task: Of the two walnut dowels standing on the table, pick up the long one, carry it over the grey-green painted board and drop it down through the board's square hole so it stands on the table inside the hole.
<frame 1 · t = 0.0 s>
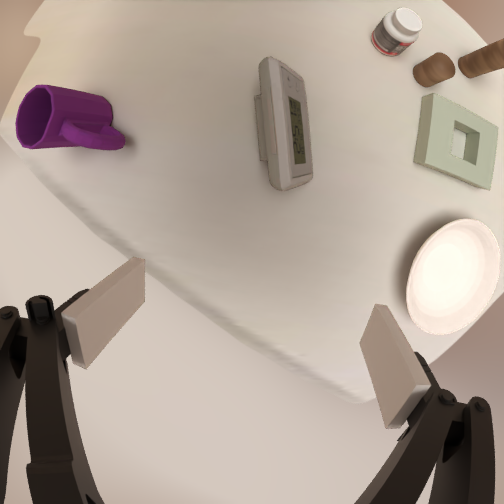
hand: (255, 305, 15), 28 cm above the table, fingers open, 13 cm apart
hole board: (453, 143, 34), on the table
pill bottle: (386, 42, 31), on the table
long dowel: (466, 67, 29), on the table
mug: (105, 127, 40), on the table
digital clock: (288, 129, 38), on the table
short dowel: (423, 75, 32), on the table
bowl: (441, 266, 41), on the table
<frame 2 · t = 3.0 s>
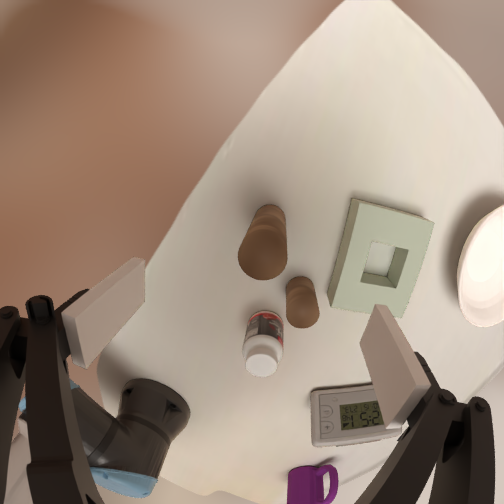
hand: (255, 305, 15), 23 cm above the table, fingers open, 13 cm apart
hole board: (375, 255, 37), on the table
pill bottle: (265, 324, 43), on the table
long dowel: (270, 219, 37), on the table
mug: (313, 467, 55), on the table
digital clock: (351, 393, 46), on the table
short dowel: (300, 289, 40), on the table
bowl: (483, 255, 35), on the table
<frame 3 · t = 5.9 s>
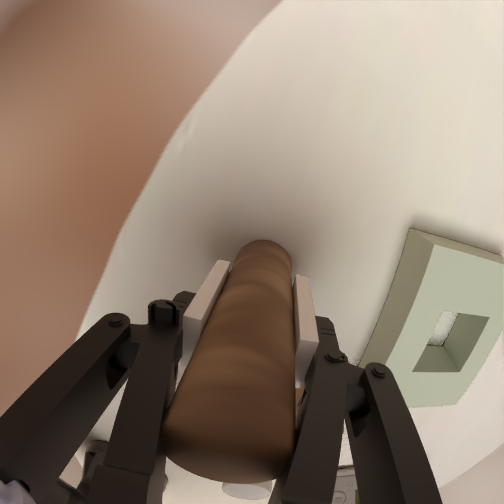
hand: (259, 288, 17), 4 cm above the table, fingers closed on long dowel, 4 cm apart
hole board: (433, 319, 20), on the table
pill bottle: (257, 410, 26), on the table
long dowel: (263, 266, 21), on the table, touching gripper
digital clock: (370, 468, 29), on the table
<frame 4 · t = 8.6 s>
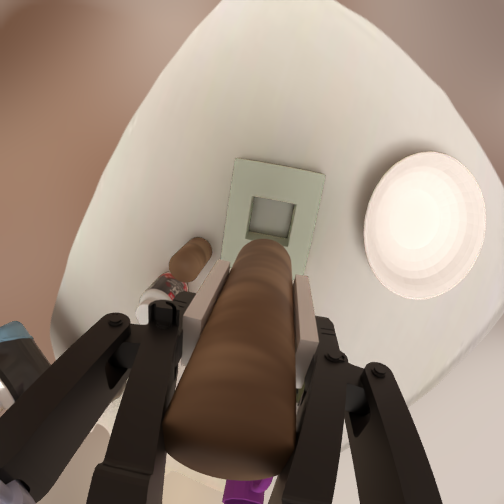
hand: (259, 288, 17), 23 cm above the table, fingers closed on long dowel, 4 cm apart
hole board: (271, 215, 39), on the table
pill bottle: (173, 286, 44), on the table
long dowel: (263, 265, 21), point 19 cm above the table, touching gripper
mug: (256, 452, 57), on the table
short dowel: (198, 250, 42), on the table
bowl: (413, 218, 37), on the table
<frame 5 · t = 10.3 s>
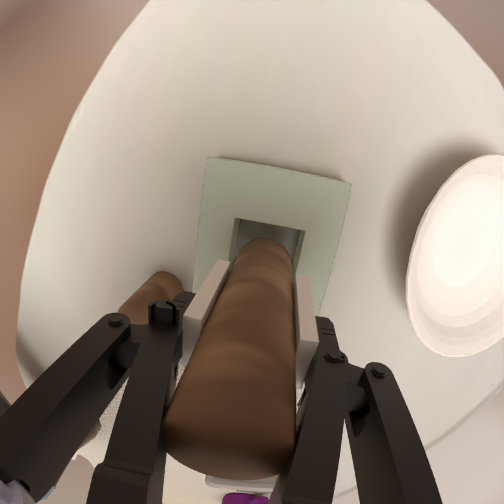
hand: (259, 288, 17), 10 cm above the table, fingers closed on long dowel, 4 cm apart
hole board: (266, 243, 26), on the table
long dowel: (263, 265, 21), point 6 cm above the table, touching gripper
mug: (250, 495, 45), on the table
digital clock: (272, 424, 35), on the table
short dowel: (165, 289, 29), on the table
bowl: (460, 245, 24), on the table
when the fingers open (6 cm above the table, at t = 11.6 s): long dowel drops 2 cm, resting in hole board.
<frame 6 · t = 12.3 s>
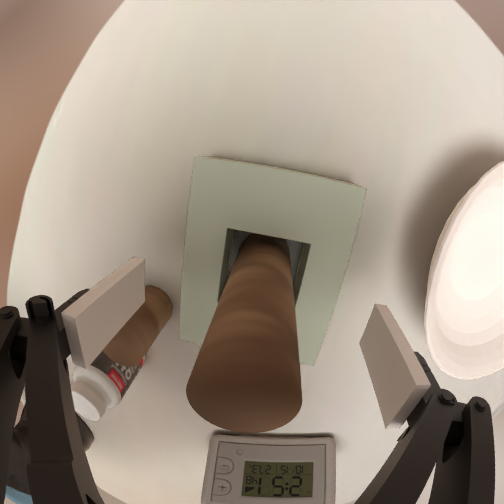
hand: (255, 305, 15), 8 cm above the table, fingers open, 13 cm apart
hole board: (265, 255, 23), on the table
pill bottle: (125, 347, 28), on the table
long dowel: (264, 254, 23), resting in hole board
digital clock: (273, 443, 31), on the table
short dowel: (153, 304, 26), on the table
bowl: (479, 255, 21), on the table
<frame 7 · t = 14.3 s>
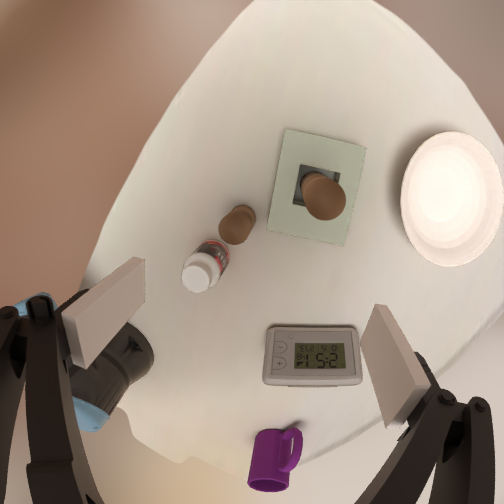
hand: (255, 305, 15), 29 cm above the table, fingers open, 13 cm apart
hole board: (314, 185, 40), on the table
pill bottle: (214, 254, 46), on the table
long dowel: (313, 184, 40), resting in hole board
mug: (281, 431, 60), on the table
digital clock: (312, 336, 49), on the table
short dowel: (242, 218, 43), on the table
bowl: (439, 194, 38), on the table
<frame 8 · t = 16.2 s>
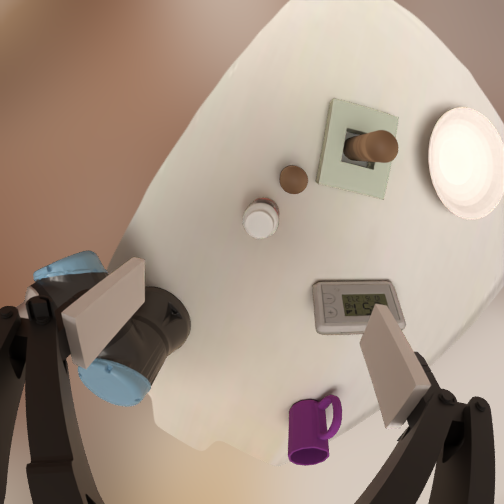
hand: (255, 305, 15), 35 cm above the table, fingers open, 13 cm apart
hole board: (354, 149, 43), on the table
pill bottle: (263, 212, 49), on the table
long dowel: (354, 149, 43), resting in hole board
mug: (315, 402, 62), on the table
digital clock: (352, 292, 52), on the table
short dowel: (292, 177, 46), on the table
bowl: (454, 161, 41), on the table
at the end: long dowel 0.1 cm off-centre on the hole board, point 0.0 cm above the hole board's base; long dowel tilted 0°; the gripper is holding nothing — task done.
